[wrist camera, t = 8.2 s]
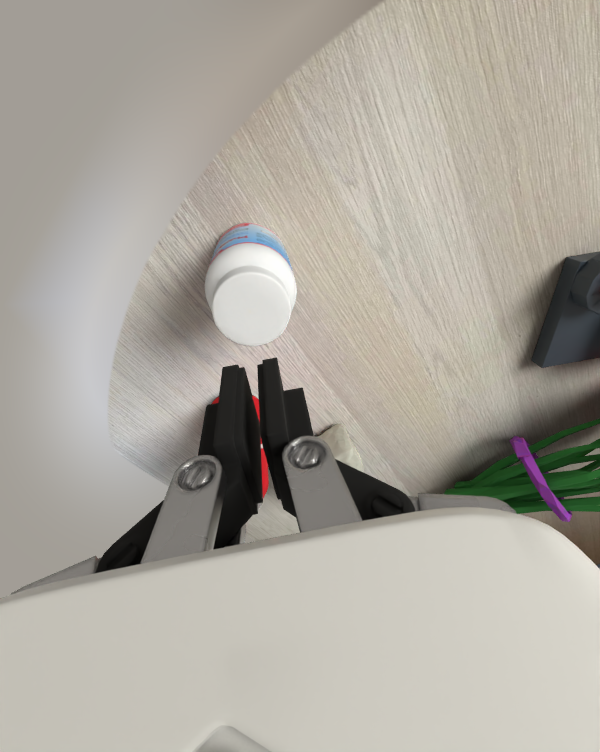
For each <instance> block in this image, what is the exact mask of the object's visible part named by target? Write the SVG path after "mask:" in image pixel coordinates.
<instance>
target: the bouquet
mask: <svg viewBox="0 0 600 752" xmlns="http://www.w3.org/2000/svg"><path fill="white" fill-rule="evenodd" d="M597 424H600V419H597V420H593V421H590V422H587V423H584V424H581V425H578V426H575V427H572V428H569V429H566V430H563V431H561V432H558V433H556V434H554V435H552V436H550V437H548V438H546V439H544V440H542V441H539V442H537V443H535V444H533V445H531V446H530V445H529V444H528V443H527V442H526V440H525V439H524V438H523V437H522V438H521V437H518V436H514V437H513V438H512V439H511V440H510V443H511V445H512V447H513V449H514V451H515V453H514V454H512V455H510V456H508V457H506V458H503V459H501V460H499V461H497V462H496V463H495V464H493V465H492V466H491V467H489V468H488V469H486V470H485V471H484V472H482V473H481V474H480V475H478V476H477V477H475V478H474V479H473V480H471V481H460V482H456V484H455V486H454V488H455V489H446V491H445V493H444V494H445V495H466V496H487V497H492V498H497V499H499V500H501V501H503V502H505V503H507V504H508V505H509V506H510V507H511V508H513V509H514V510H515V512H516V513H517V514H520V513H529V512H539V511H553V512H554V513H555V514H556V515H557V516H558V517H559V518H560V519H561V520H562V521H567V522H570V519H571V517H572V513H571V511H593V512H600V497H588V498H574V499H564V497H567V496H574V495H580V494H587V493H593V492H599V491H600V469H597V470H595V471H593V470H594V469H596V468H598V467H600V454H597V455H589V456H585V455H586V454H588V453H590V452H591V451H593V450H594V449H596V448H600V439H598V440H596V441H594V442H593V443H591V444H589V445H583V446H578V447H573V448H568V449H565V450H562V451H559V452H555V453H552V454H549V455H546V456H543V457H540V458H539V457H538V456H537V454H536V453H535V452H537V451H539V450H541V449H543V448H545V447H546V446H548V445H550V444H552V443H554V442H556V441H558V440H560V439H562V438H563V437H565V436H568V435H570V434H573V433H576V432H578V431H581V430H584V429H586V428H589V427H592V426H594V425H597ZM520 460H521V461H522V463H521V464H518V465H515V466H512V467H509V466H511V465H513V464H514V463H516V462H518V461H520ZM595 460H596V461H595ZM588 461H594V462H593V463H591V464H589V465H587V466H585V467H583V468H581V469H578V470H572V471H563V472H555V473H549V472H548V471H551V470H554V469H557V468H560V467H563V466H566V465H569V464H576V463H582V462H588ZM507 467H508V468H507ZM595 478H598V479H595ZM541 500H544V501H541Z"/></svg>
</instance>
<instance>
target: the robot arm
mask: <svg viewBox="0 0 600 752" xmlns="http://www.w3.org/2000/svg"><path fill="white" fill-rule="evenodd" d="M258 391H259V418H260V423H259V419H258V415H257V411H256V408H255V404H254V400H253V397H252V393H251V389H250V386H249V382H248V378H247V375H246V371H245V368H244V367H243V368H239V366H238V365H233V366H227V367H223V369H222V377H221V385H220V393H219V401H218V403H214V404H209V405H207V407H206V411H205V417H204V423H203V429H202V434H201V440H200V446H199V452H198V456H196V457H193V458H191V459H189V460H187V461H186V462H184V463H183V464H182V465H181V466H180V467H179V468H178V469H177V470H176V472H175V474H174V476H173V478H172V480H171V483H170V486H169V489H168V491H167V494H166V497H165V499H164V500H163V501H162V502H161V503H160V504H159V505H158V506H156V507H155V508H154V509H153V510H152V511H151V512H149V513H148V514H147V515H146V516H145V517H144V518H143V519H142V520H140V521H139V522H138V523H137V524H136V525H135V526H133V527H132V528H131V529H130V530H129V531H128V532H127V533H126V534H124V535H123V536H122V537H121V538H120V539H119V540H117V541H116V542H115V543H114V544H113V545H112V546H111V547H110V548H109V549H108V550H107V551H106V552H105V553H104V555H103V557H102V558H99V559H98V558H97V557H96V556H94V557H92V558H89V559H87V560H85V561H82V562H80V563H78V564H75V565H73V566H71V567H68V568H66V569H64V570H62V571H59V572H57V573H54V574H52V575H50V576H47V577H45V578H43V579H40V580H38V581H36V582H33V583H31V584H29V585H27V586H24V587H22V588H20V589H19V590H17V591H15V592H13V593H12V594H11V595H9V596H6V597H3V598H0V752H600V569H599V568H598V567H597V566H596V565H595V564H594V563H593V562H592V561H591V560H590V559H589V558H588V557H587V556H586V555H585V554H584V553H583V552H582V551H581V550H580V549H579V548H578V547H577V546H575V545H574V544H573V543H572V542H571V541H570V540H569V539H567V538H566V537H565V536H564V535H562V534H561V533H560V532H558V531H556V530H555V529H553V528H552V527H550V526H549V525H547V524H545V523H542V522H540V521H538V520H536V519H533V518H530V517H527V516H524V515H520V514H517V513H516V512H515V510H514V509H513V508H511V507H510V506H509V505H508V504H507V503H505V502H503V501H501V500H499V499H497V498H492V497H487V496H466V495H445V494H423V493H418V497H410V496H407V495H406V494H404V493H403V492H401V491H400V490H398V489H396V488H394V487H392V486H390V485H388V484H386V483H384V482H382V481H380V480H378V479H376V478H373V477H371V476H369V475H367V474H365V473H363V472H361V471H359V470H357V469H355V468H353V467H351V466H349V465H347V464H345V463H343V462H341V461H339V460H337V459H335V458H334V456H333V453H332V451H331V449H330V447H329V445H328V444H327V442H325V441H324V440H323V439H321V438H318V437H316V436H314V435H313V431H312V427H311V422H310V418H309V413H308V409H307V404H306V400H305V396H304V391H303V388H297V389H292V390H286V391H283V386H282V381H281V376H280V371H279V366H278V361H277V358H272V359H266V360H263V364H260V365H258ZM261 441H262V445H263V449H264V452H265V456H266V460H267V463H268V467H269V470H270V474H271V477H272V481H273V484H274V488H275V492H276V495H277V498H278V500H279V499H281V501H282V505H283V509H284V510H286V511H287V512H289V513H290V514H292V515H293V516H295V517H296V518H297V522H298V526H299V530H300V533H296V534H291V535H286V536H280V537H275V538H270V539H265V540H260V541H255V542H250V543H245V536H246V525H245V523H246V522H247V521H248V520H249V519H250V517H251V516H252V515H254V514H258V503H263V487H262V461H261Z"/></svg>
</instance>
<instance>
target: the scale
mask: <svg viewBox="0 0 600 752" xmlns="http://www.w3.org/2000/svg"><path fill="white" fill-rule="evenodd" d="M594 358H600V252H595V253H589V254H583V255H577V256H571V257H566V260H565V263H564V266H563V269H562V272H561V275H560V278H559V281H558V284H557V286H556V289H555V292H554V295H553V298H552V301H551V304H550V307H549V310H548V313H547V316H546V319H545V322H544V325H543V328H542V331H541V334H540V337H539V339H538V342H537V345H536V348H535V351H534V354H533V357H532V361H533V362H534V363H536V364H537V365H538V366H540V367H541V368H544V367H549V366H555V365H561V364H566V363H572V362H577V361H583V360H588V359H594Z"/></svg>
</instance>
